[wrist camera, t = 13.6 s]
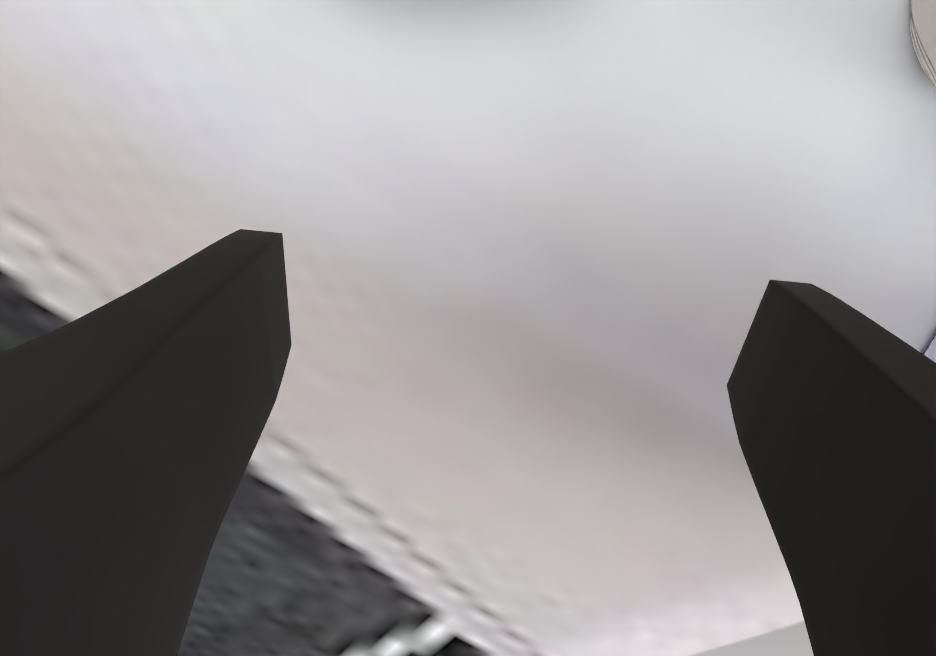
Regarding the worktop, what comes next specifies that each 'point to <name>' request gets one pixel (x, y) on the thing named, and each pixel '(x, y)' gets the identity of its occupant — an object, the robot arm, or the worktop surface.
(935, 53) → the mug
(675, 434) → the worktop surface
